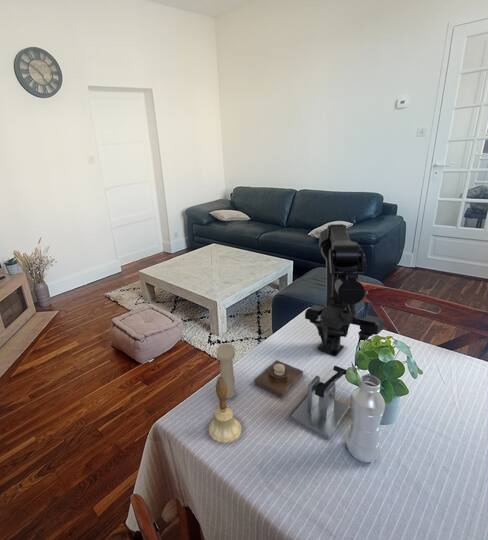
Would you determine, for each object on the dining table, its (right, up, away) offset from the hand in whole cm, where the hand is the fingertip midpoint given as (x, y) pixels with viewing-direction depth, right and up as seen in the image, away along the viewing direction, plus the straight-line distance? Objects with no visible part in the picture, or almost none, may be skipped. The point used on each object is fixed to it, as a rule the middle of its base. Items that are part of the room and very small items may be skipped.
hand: (341, 348), depth 90 cm
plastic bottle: (-2, -20, -15) cm, 25 cm away
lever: (-3, -9, -2) cm, 10 cm away
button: (-15, -9, +8) cm, 19 cm away
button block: (-14, -12, +9) cm, 21 cm away
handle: (-30, -15, +5) cm, 34 cm away
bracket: (-7, -16, -4) cm, 18 cm away
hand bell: (-32, -19, -6) cm, 37 cm away
